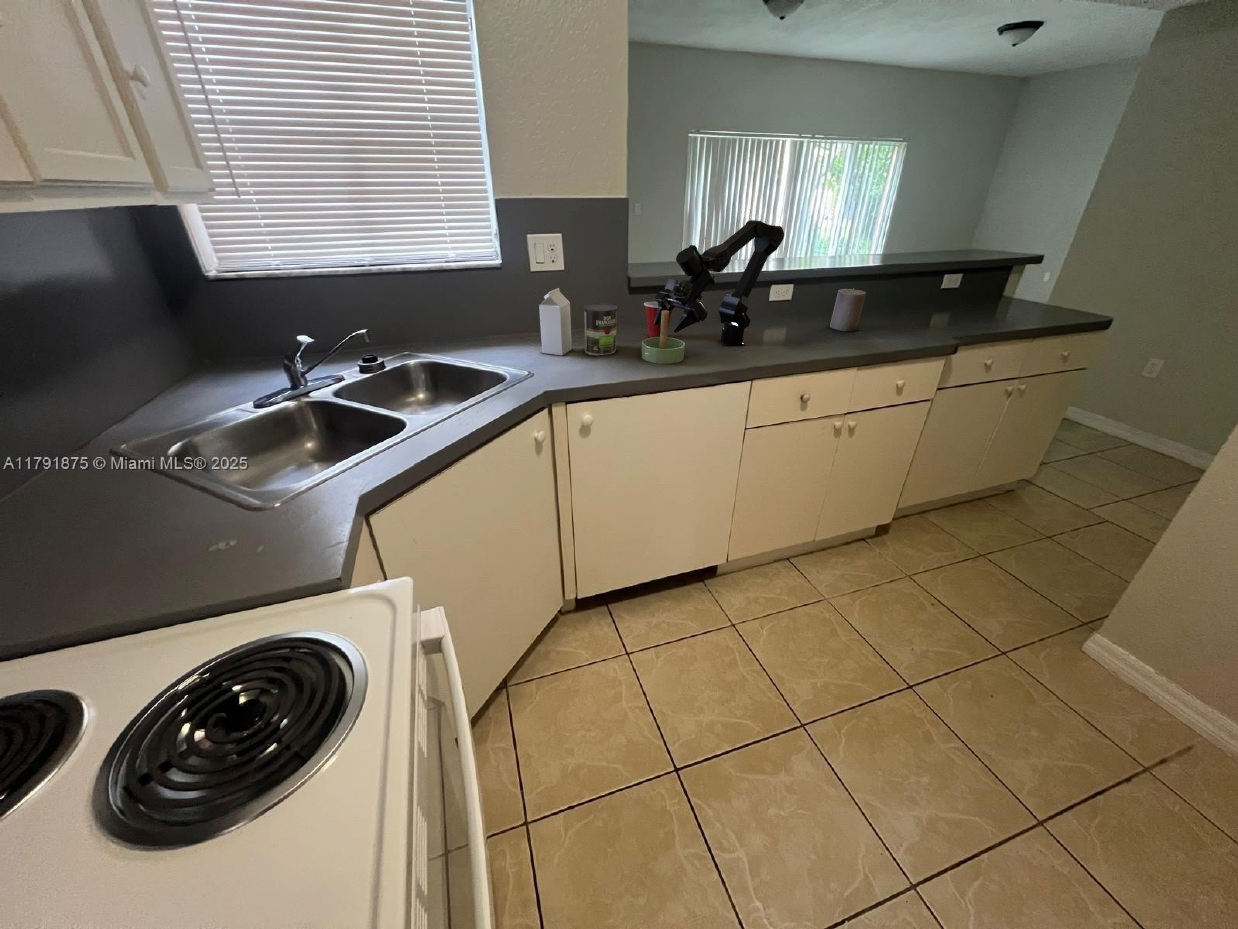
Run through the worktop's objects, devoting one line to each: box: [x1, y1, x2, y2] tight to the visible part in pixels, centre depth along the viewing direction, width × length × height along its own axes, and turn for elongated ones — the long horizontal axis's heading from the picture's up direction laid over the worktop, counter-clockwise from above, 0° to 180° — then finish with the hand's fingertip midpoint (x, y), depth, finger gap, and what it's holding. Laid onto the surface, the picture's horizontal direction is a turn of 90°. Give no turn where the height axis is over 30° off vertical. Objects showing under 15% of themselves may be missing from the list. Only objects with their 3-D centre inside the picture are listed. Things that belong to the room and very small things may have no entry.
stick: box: [659, 310, 669, 349], centre depth 148 cm, size 5×5×14 cm
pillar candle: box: [829, 287, 867, 333], centre depth 183 cm, size 10×10×15 cm
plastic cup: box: [643, 301, 674, 338], centre depth 169 cm, size 11×11×12 cm
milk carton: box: [538, 287, 572, 356], centre depth 151 cm, size 7×7×19 cm
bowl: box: [640, 336, 686, 365], centre depth 151 cm, size 13×13×5 cm
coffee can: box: [583, 302, 618, 357], centre depth 154 cm, size 10×10×14 cm
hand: (664, 328), depth 147 cm, fingers open, 9 cm apart
